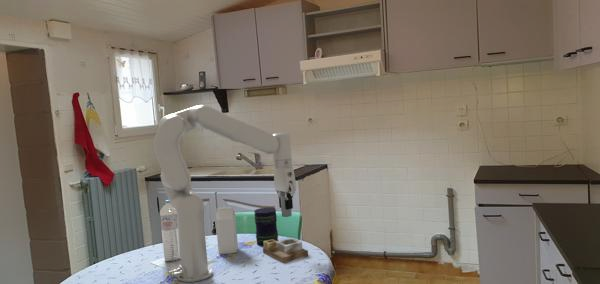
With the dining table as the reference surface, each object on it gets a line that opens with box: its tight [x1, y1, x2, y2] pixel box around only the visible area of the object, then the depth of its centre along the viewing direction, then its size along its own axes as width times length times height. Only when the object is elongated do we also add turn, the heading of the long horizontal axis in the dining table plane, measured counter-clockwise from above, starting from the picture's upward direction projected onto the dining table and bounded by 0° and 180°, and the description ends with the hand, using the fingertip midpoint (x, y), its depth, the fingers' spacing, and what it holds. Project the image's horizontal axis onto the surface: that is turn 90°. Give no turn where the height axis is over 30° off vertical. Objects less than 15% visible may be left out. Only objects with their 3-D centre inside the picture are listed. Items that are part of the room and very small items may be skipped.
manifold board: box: [262, 237, 309, 264], centre depth 180 cm, size 12×16×5 cm
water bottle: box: [159, 199, 181, 262], centre depth 183 cm, size 7×7×25 cm
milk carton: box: [215, 206, 239, 255], centre depth 189 cm, size 7×7×19 cm
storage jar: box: [253, 207, 279, 247], centre depth 197 cm, size 10×10×15 cm
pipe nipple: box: [279, 190, 293, 218], centre depth 179 cm, size 5×5×10 cm
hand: (286, 207), depth 179 cm, fingers closed on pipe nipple, 4 cm apart
